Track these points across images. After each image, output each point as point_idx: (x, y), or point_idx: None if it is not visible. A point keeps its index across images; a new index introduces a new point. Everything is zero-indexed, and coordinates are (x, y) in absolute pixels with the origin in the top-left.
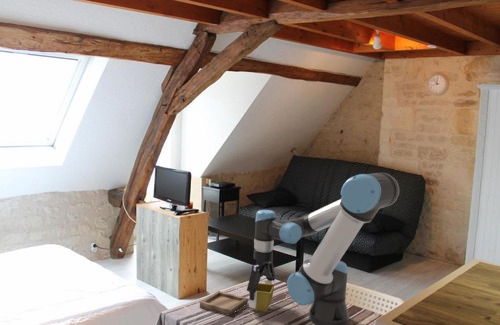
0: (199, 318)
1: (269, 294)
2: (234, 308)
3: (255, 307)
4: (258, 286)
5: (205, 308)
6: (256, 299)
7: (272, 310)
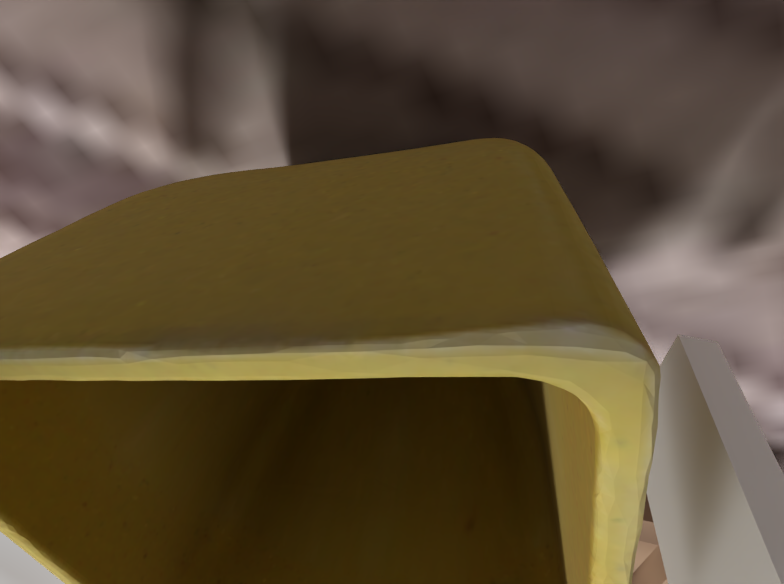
0: None
1: (632, 328)
2: (645, 509)
3: (707, 351)
4: (157, 542)
5: None
6: (745, 486)
7: (350, 67)
